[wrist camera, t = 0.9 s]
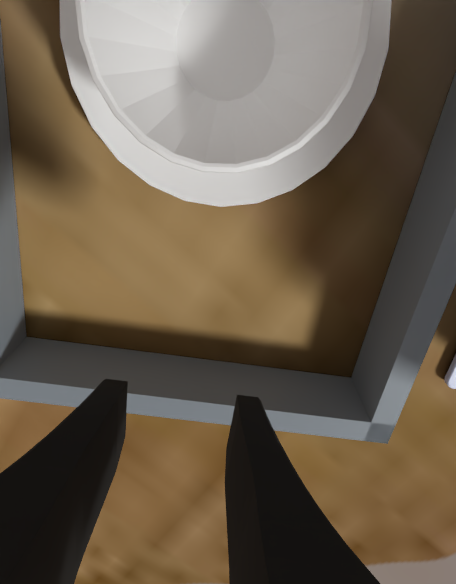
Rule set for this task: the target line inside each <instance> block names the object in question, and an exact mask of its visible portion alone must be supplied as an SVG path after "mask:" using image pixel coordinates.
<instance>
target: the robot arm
mask: <svg viewBox="0 0 456 584" xmlns="http://www.w3.org/2000/svg"><path fill="white" fill-rule="evenodd" d="M444 380H445V383H446V384H447V385H448V386H449V387H450V388H453V389H456V354H455V357H454V359H453V361H452V363H451V365H450V367H449V370H448V372H447V374H446V376H445V379H444ZM127 388H128V381H121V380H113V379H105V380H103V381H102V382H101V383H100V384H99V385H98V386H97V387H96V388H95V389H94V391H93V392H92V393H91V394H90V395H89V396H88V397H87V398H86V399H85V400H84V401H83V402H82V403H81V404H80V405H79V406H78V407H77V408H76V409H75V410H74V411H73V412H72V413H71V414H70V415H69V416H68V417H66V418H65V419H64V420H63V421H62V422H61V423H60V424H59V425H58V426H57V427H56V428H55V429H54V430H53V431H51V432H50V433H49V434H48V435H47V436H46V437H45V438H43V439H42V440H41V441H40V442H39V443H37V444H36V445H35V446H34V447H33V448H32V449H30V450H29V451H28V452H27V453H26V454H25V455H23V456H22V457H21V458H20V459H18V460H17V461H16V462H14V463H13V464H12V465H11V466H9V467H8V468H7V469H5V470H4V471H3V472H1V473H0V584H74V582H75V578H76V575H77V572H78V569H79V566H80V563H81V561H82V558H83V555H84V552H85V550H86V547H87V544H88V542H89V539H90V537H91V534H92V532H93V529H94V526H95V524H96V521H97V519H98V516H99V514H100V511H101V508H102V506H103V503H104V501H105V498H106V496H107V493H108V490H109V488H110V485H111V483H112V480H113V477H114V475H115V472H116V469H117V465H118V461H119V458H120V454H121V450H122V446H123V443H124V439H125V430H126V409H127ZM225 496H226V516H227V534H228V553H229V578H230V584H380V583H379V582H378V580H377V579H376V578H375V577H374V576H373V575H372V574H371V572H370V571H369V570H368V569H367V568H366V566H365V565H364V564H363V563H362V562H361V561H360V559H359V558H358V557H357V556H356V555H355V554H354V552H353V551H352V550H351V549H350V548H349V547H348V545H347V544H346V543H345V542H344V540H343V539H342V538H341V536H340V535H339V534H338V532H337V531H336V530H335V529H334V527H333V526H332V525H331V523H330V522H329V521H328V519H327V518H326V516H325V515H324V514H323V512H322V511H321V509H320V508H319V507H318V505H317V504H316V502H315V501H314V499H313V498H312V496H311V495H310V493H309V492H308V490H307V489H306V487H305V485H304V484H303V482H302V480H301V479H300V477H299V476H298V474H297V472H296V471H295V469H294V467H293V465H292V464H291V462H290V460H289V458H288V456H287V455H286V453H285V451H284V449H283V447H282V445H281V444H280V442H279V440H278V438H277V436H276V434H275V432H274V429H273V427H272V425H271V423H270V421H269V419H268V417H267V414H266V412H265V409H264V407H263V405H262V402H261V400H260V399H259V398H258V397H253V396H244V395H237V397H236V402H235V407H234V412H233V418H232V423H231V428H230V433H229V438H228V443H227V450H226V469H225Z"/></svg>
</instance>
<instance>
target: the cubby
mask: <svg viewBox="0 0 456 584" xmlns="http://www.w3.org/2000/svg"><path fill="white" fill-rule="evenodd" d="M455 284H456V72H455V75H454V78H453V81H452V84H451V87H450V90H449V93H448V96H447V98H446V101H445V104H444V107H443V110H442V113H441V116H440V119H439V122H438V125H437V128H436V131H435V134H434V137H433V139H432V142H431V145H430V148H429V151H428V154H427V157H426V160H425V163H424V166H423V169H422V172H421V175H420V177H419V180H418V183H417V186H416V189H415V192H414V195H413V198H412V201H411V204H410V207H409V210H408V213H407V216H406V218H405V221H404V224H403V227H402V230H401V233H400V236H399V239H398V242H397V245H396V248H395V251H394V254H393V257H392V259H391V262H390V265H389V268H388V271H387V274H386V277H385V280H384V283H383V286H382V289H381V292H380V295H379V298H378V300H377V303H376V306H375V309H374V312H373V315H372V318H371V321H370V324H369V327H368V330H367V333H366V336H365V338H364V341H363V344H362V347H361V350H360V353H359V356H358V359H357V362H356V365H355V368H354V371H353V374H352V377H351V378H350V377H342V376H334V375H326V374H318V373H310V372H302V371H295V370H287V369H279V368H271V367H263V366H255V365H247V364H239V363H231V362H223V361H215V360H207V359H199V358H191V357H183V356H175V355H167V354H160V353H152V352H144V351H136V350H128V349H120V348H112V347H104V346H96V345H88V344H80V343H72V342H64V341H56V340H48V339H40V338H32V337H27V336H26V323H25V311H24V299H23V287H22V275H21V263H20V251H19V239H18V227H17V215H16V202H15V190H14V178H13V166H12V154H11V142H10V130H9V118H8V106H7V94H6V81H5V69H4V57H3V45H2V33H1V21H0V398H3V399H12V400H20V401H29V402H37V403H46V404H54V405H63V406H71V407H78V406H79V405H80V404H81V403H82V402H83V401H84V400H85V399H86V398H87V397H88V396H89V395H90V394H91V393H92V392H93V391H94V389H95V388H96V387H97V386H98V385H99V384H100V383H101V382H102V381H103V380H105V379H113V380H121V381H128V388H127V409H126V413H131V414H139V415H148V416H157V417H165V418H174V419H182V420H191V421H199V422H208V423H216V424H225V425H231V423H232V418H233V412H234V407H235V402H236V397H237V395H244V396H253V397H258V398H259V399H260V400H261V402H262V405H263V407H264V409H265V412H266V414H267V417H268V419H269V421H270V423H271V425H272V427H273V429H274V430H276V431H284V432H293V433H302V434H310V435H319V436H327V437H336V438H344V439H353V440H361V441H370V442H378V443H387V444H388V441H389V439H390V437H391V434H392V432H393V430H394V427H395V425H396V423H397V420H398V418H399V416H400V413H401V411H402V409H403V406H404V404H405V401H406V399H407V397H408V394H409V392H410V390H411V387H412V385H413V383H414V380H415V378H416V376H417V373H418V371H419V369H420V366H421V364H422V362H423V359H424V357H425V355H426V352H427V350H428V348H429V345H430V343H431V341H432V338H433V336H434V334H435V331H436V329H437V327H438V324H439V322H440V319H441V317H442V315H443V312H444V310H445V308H446V305H447V303H448V301H449V298H450V296H451V294H452V291H453V289H454V287H455Z"/></svg>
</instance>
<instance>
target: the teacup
mask: <svg viewBox="0 0 456 584" xmlns="http://www.w3.org/2000/svg"><path fill="white" fill-rule="evenodd" d="M59 1H60V39H61V43H62V47H63V51H64V56H65V60H66V64H67V68H68V73H69V77H70V81H71V85H72V87H73V89H74V91H75V93H76V96H77V98H78V100H79V102H80V104H81V106H82V108H83V110H84V112H85V114H86V116H87V118H88V120H89V122H90V125H91V127H92V128H93V129H94V130H95V132H96V133H97V134H98V136H99V137H100V138H101V139H102V141H103V142H104V143H105V144H106V146H107V147H108V148H109V149H110V151H111V152H112V153H113V154H114V156H115V157H116V158H117V159H118V161H120V162H121V163H122V164H123V165H125V166H126V167H127V168H129V169H130V170H131V171H132V172H134V173H135V174H136V175H137V176H139V177H140V178H141V179H143V180H144V181H145V182H146V183H148V184H149V185H150V186H153V187H155V188H157V189H159V190H162V191H164V192H166V193H168V194H170V195H173V196H175V197H177V198H179V199H182V200H184V201H189V202H195V203H201V204H207V205H213V206H219V207H224V206H234V205H245V204H255V203H259V202H262V201H265V200H267V199H270V198H273V197H275V196H278V195H281V194H283V193H286V192H289V191H292V190H293V189H295V188H296V187H298V186H299V185H301V184H302V183H304V182H305V181H306V180H308V179H309V178H311V177H312V176H314V175H315V174H316V173H318V172H319V171H321V170H322V169H324V168H325V167H326V166H327V165H328V164H329V163H330V161H331V160H332V159H333V158H334V157H335V156H336V155H337V154H338V152H339V151H340V150H341V149H342V148H343V147H344V146H345V145H346V143H347V142H348V141H349V140H350V139H351V138H352V137H353V135H354V133H355V132H356V130H357V128H358V126H359V124H360V122H361V121H362V119H363V117H364V115H365V113H366V111H367V110H368V108H369V106H370V104H371V102H372V100H373V99H374V97H375V94H376V91H377V87H378V84H379V80H380V77H381V73H382V70H383V66H384V63H385V59H386V56H387V52H388V49H389V34H390V18H391V2H392V0H59Z"/></svg>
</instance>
